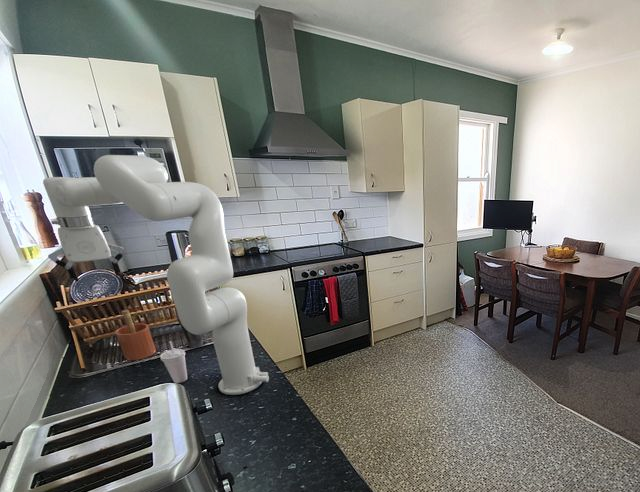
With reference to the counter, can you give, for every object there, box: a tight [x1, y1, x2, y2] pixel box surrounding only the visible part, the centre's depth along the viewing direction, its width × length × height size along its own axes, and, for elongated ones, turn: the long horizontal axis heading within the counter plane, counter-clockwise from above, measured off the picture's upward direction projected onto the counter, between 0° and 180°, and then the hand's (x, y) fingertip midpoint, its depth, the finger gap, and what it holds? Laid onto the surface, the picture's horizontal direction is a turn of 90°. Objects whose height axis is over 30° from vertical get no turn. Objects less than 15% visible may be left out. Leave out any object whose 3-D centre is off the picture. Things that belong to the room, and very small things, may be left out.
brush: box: [121, 309, 136, 334], centre depth 120 cm, size 5×5×16 cm
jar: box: [114, 322, 157, 361], centre depth 122 cm, size 9×9×10 cm
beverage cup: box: [176, 313, 204, 348], centre depth 127 cm, size 7×7×20 cm
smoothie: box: [159, 340, 188, 384], centre depth 108 cm, size 6×6×14 cm
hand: (97, 277), depth 109 cm, fingers open, 9 cm apart
